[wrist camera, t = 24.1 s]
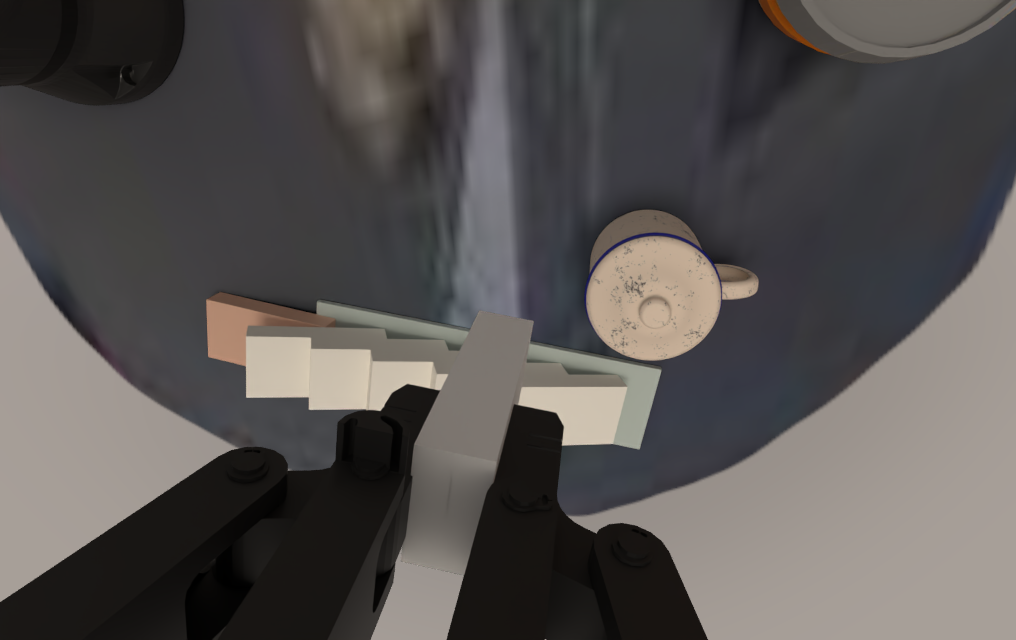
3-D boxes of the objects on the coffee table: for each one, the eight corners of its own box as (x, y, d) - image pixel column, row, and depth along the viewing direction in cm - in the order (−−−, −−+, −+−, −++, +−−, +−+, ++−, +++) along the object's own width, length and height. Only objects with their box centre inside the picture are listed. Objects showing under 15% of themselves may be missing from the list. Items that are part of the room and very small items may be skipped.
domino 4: (491, 407, 57) (366, 408, 54) (501, 351, 55) (370, 349, 52) (497, 419, 56) (367, 422, 52) (507, 362, 54) (372, 361, 50)
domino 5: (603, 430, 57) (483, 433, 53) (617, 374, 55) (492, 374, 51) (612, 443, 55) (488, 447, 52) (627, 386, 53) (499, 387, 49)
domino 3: (437, 395, 58) (308, 397, 54) (444, 339, 56) (311, 337, 52) (441, 407, 56) (308, 409, 53) (448, 350, 54) (311, 348, 50)
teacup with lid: (587, 315, 54) (583, 379, 43) (586, 206, 50) (582, 247, 40) (738, 315, 52) (772, 382, 41) (747, 202, 49) (788, 243, 38)
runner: (316, 378, 60) (313, 381, 59) (319, 299, 56) (317, 301, 56) (639, 445, 58) (639, 449, 57) (660, 366, 54) (661, 370, 54)
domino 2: (379, 384, 58) (248, 385, 55) (384, 328, 56) (247, 325, 52) (382, 396, 56) (246, 397, 53) (387, 338, 54) (245, 336, 51)
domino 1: (332, 374, 58) (221, 347, 60) (335, 318, 56) (220, 291, 58) (322, 385, 57) (208, 356, 58) (325, 327, 54) (206, 299, 56)
